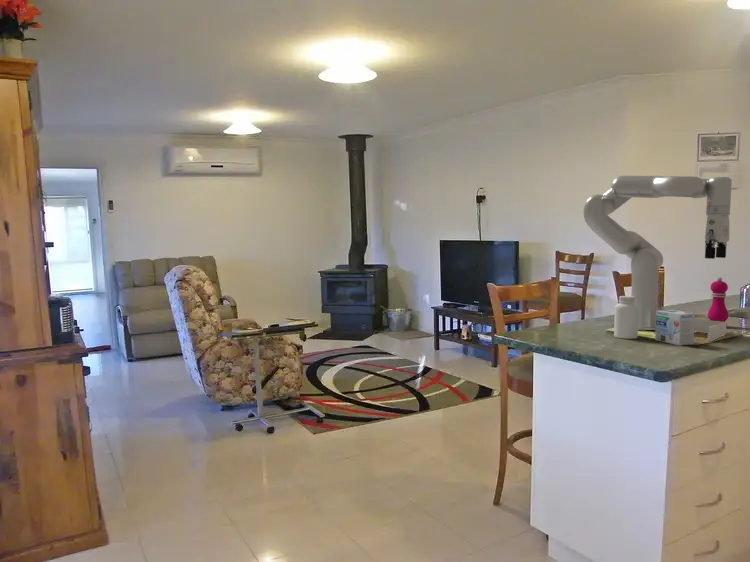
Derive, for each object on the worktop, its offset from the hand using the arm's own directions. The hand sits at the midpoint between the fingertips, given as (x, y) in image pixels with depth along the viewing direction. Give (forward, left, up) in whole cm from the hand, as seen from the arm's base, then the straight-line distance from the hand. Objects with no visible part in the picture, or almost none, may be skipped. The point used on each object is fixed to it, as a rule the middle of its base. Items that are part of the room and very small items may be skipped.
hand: (715, 258), depth 213 cm
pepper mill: (0, +21, -29) cm, 35 cm away
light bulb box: (-10, -24, -29) cm, 39 cm away
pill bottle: (-26, -23, -29) cm, 45 cm away
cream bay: (-6, -7, -29) cm, 30 cm away
